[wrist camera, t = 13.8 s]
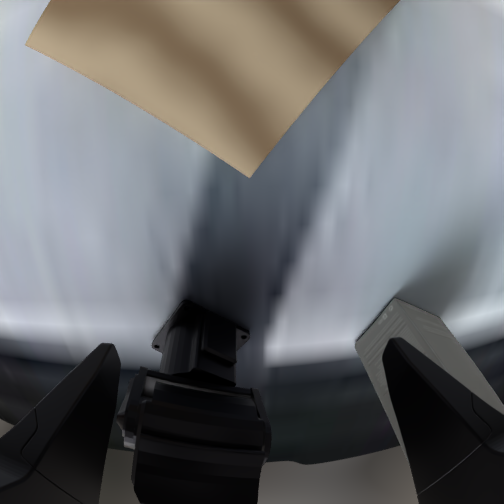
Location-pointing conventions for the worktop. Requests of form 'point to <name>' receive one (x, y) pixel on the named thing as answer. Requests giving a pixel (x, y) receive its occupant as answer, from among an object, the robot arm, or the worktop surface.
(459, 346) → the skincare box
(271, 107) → the oak board
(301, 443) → the worktop surface
